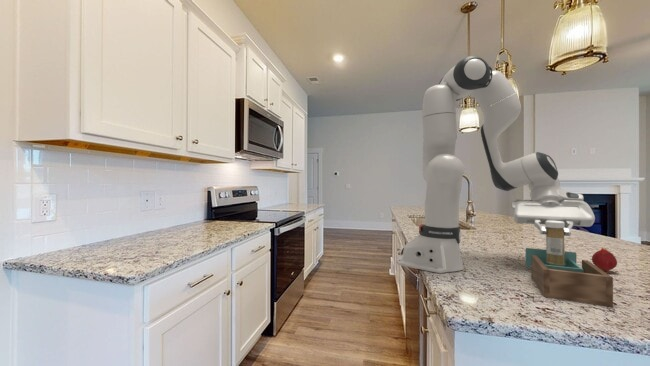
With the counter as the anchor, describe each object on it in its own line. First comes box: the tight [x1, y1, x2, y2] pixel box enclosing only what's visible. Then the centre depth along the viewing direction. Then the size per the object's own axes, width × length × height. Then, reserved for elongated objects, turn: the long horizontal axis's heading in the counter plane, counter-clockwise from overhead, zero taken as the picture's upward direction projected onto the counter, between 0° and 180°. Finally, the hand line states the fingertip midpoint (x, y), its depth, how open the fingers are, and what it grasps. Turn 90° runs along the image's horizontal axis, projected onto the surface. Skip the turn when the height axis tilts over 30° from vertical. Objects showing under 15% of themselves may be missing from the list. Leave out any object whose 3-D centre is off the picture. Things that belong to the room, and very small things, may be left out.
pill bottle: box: [544, 220, 566, 266], centre depth 85 cm, size 5×5×14 cm
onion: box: [591, 246, 618, 273], centre depth 90 cm, size 6×6×8 cm
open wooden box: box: [531, 255, 614, 308], centre depth 75 cm, size 13×16×7 cm
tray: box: [525, 247, 584, 273], centre depth 85 cm, size 13×14×6 cm
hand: (555, 234), depth 85 cm, fingers closed on pill bottle, 4 cm apart
